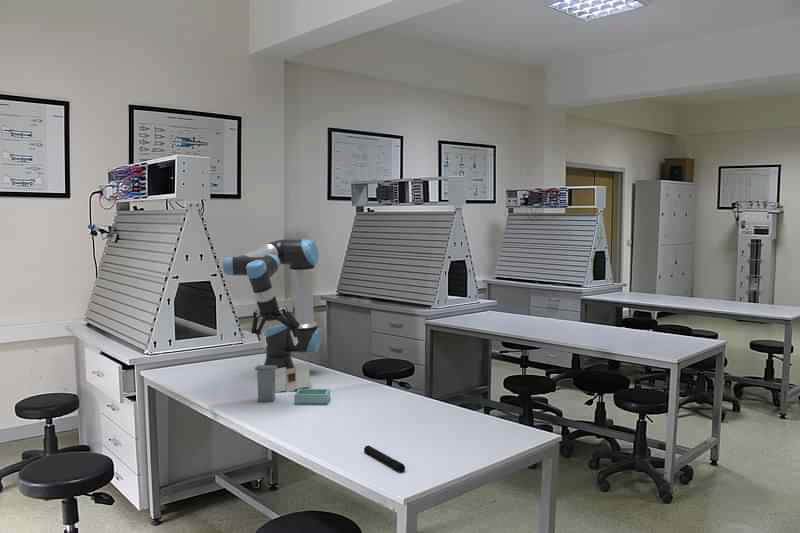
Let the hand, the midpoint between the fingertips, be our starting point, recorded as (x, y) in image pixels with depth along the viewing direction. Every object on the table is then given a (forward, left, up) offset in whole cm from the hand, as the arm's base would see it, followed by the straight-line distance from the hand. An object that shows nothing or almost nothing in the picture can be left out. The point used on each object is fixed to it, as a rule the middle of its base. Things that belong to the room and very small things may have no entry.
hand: (280, 345), depth 247 cm
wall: (-18, +1, -23) cm, 29 cm away
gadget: (+64, +44, -23) cm, 81 cm away
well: (+2, +13, -23) cm, 26 cm away
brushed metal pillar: (0, -6, -23) cm, 23 cm away
